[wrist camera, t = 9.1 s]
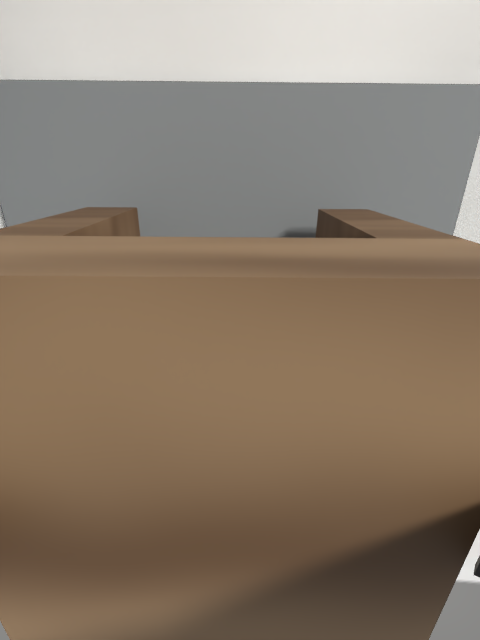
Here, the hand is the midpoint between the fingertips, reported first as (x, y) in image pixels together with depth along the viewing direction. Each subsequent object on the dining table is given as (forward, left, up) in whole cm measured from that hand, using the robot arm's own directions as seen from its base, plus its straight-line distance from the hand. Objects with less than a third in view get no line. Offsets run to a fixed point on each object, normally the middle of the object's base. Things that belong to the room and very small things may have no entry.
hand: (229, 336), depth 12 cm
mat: (0, 0, -2) cm, 2 cm away
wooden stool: (0, 0, 0) cm, 0 cm away
